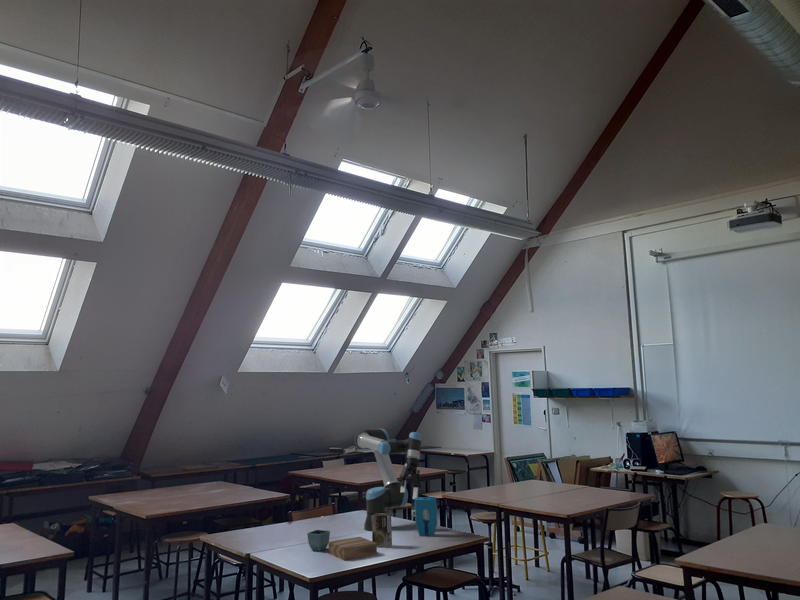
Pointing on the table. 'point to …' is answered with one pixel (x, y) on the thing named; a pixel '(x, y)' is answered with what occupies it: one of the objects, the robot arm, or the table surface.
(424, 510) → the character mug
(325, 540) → the flower pot
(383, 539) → the coffee box
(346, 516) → the table surface
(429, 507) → the block
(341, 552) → the walnut block
